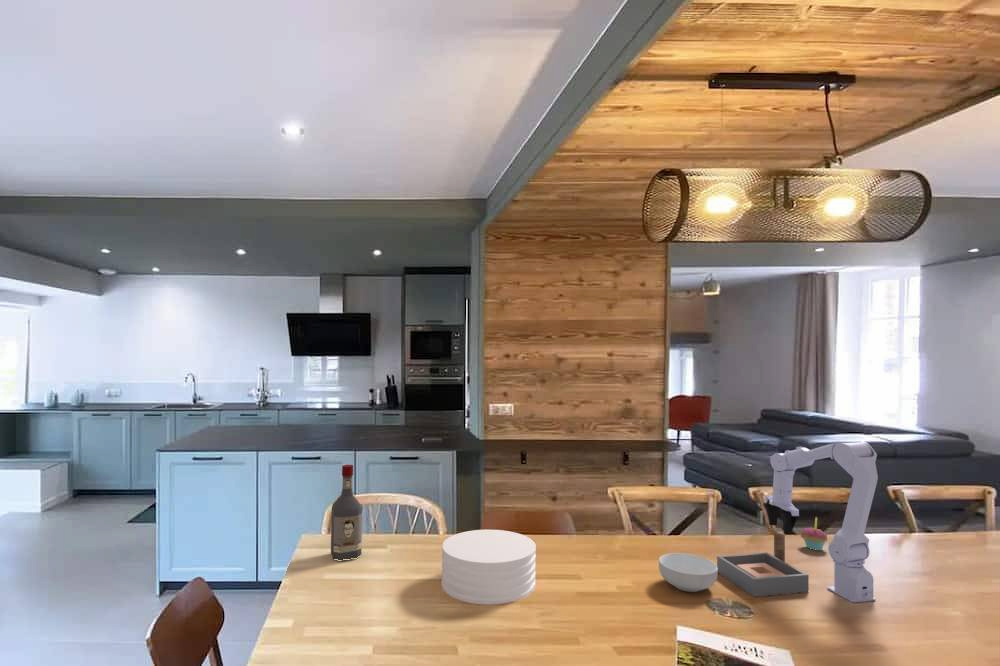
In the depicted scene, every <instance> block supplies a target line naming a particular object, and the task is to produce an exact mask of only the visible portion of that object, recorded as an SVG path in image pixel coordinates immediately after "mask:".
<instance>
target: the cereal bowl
mask: <svg viewBox="0 0 1000 666" xmlns="http://www.w3.org/2000/svg"><path fill="white" fill-rule="evenodd" d="M658 558H659V559H658V570H659V573H660V575H661V577H662V578H663V579H664V580H665V581H666V582H667V583H668V584H669V585H670V584H671V586H674V587H675V589H678V590H680V591H683V592H687V593H688V592H689V593H696V592H699V591H703V590H706V589H709V588H711V587H712V586H714V584H715V583H716V582H717V579H718V574H719V573H718V568H717V563H715V562H714V561H712V560H711V559H708V558H706V557H703V556H700V555H696V554H689V553H683V552H673V553H665V554H663V555H661V556H660V557H658Z"/></svg>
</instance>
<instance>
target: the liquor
mask: <svg viewBox="0 0 1000 666" xmlns="http://www.w3.org/2000/svg"><path fill="white" fill-rule="evenodd" d="M341 476H342V484H341V485H342V490H341V493H340V495H339V496H338V498H337V499H335V501H334V502H333V503H332V505H331V521H330V522H331V524H330V525H331V526H330V527H331V529H330V532H331V533H330V554H331V556H332V560H334V559H338V560H343V559H351V558H357V557H358V556H360V555H361V556H362V544H363V543H362V540H363V539H362V535H363V533H362V532H363V530H362V529H363V528H362V527H363V507H362V505H361V503H360V501H358V499H357V498H356V497H355V496H354V492H353V476H354V464H343V465H342V466H341ZM361 556H360V557H361ZM357 559H358V558H357Z"/></svg>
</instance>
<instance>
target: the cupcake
mask: <svg viewBox="0 0 1000 666" xmlns="http://www.w3.org/2000/svg"><path fill="white" fill-rule="evenodd" d="M799 533H800V534H799V535H800V538H802V539H803V540H804V542H805V545H806V546H807V547H808V548H811V549H816V550H820V551H822V550H823V548H824V545H825V543H826V542H827V541H828V534H827V533H826V532H825V531H823V530H822V529H819V528H818V516H815V518H814V527H806V528H803V529H802V530H800V532H799ZM807 547H806V548H807ZM808 548H807V549H808ZM811 549H810V550H811ZM821 549H822V550H821Z"/></svg>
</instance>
